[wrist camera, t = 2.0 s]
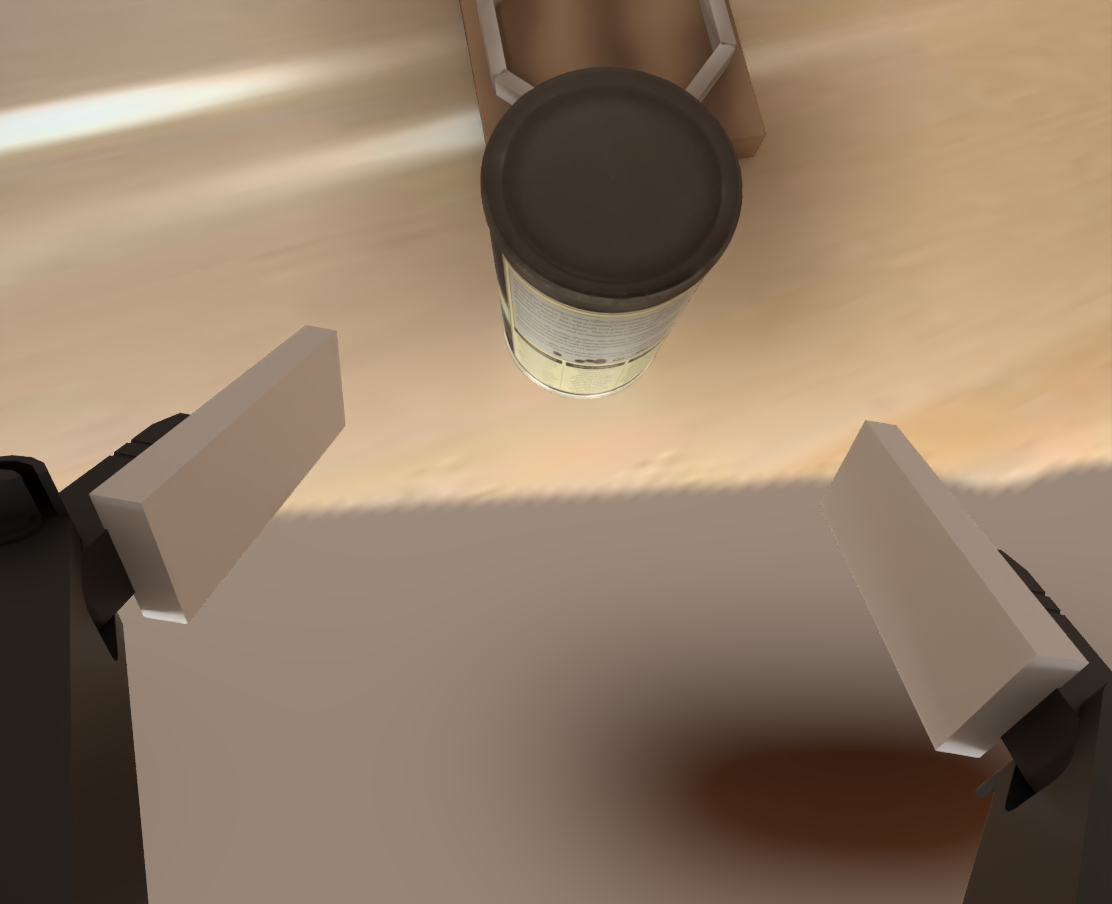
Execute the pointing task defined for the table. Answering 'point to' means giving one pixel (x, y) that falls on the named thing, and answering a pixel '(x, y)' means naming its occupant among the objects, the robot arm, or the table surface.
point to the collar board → (612, 52)
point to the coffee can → (603, 222)
